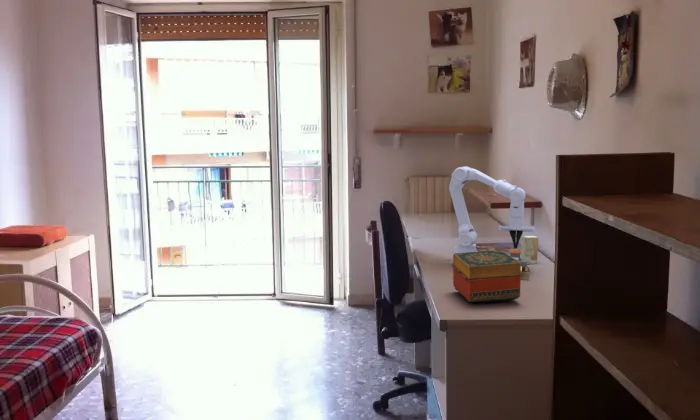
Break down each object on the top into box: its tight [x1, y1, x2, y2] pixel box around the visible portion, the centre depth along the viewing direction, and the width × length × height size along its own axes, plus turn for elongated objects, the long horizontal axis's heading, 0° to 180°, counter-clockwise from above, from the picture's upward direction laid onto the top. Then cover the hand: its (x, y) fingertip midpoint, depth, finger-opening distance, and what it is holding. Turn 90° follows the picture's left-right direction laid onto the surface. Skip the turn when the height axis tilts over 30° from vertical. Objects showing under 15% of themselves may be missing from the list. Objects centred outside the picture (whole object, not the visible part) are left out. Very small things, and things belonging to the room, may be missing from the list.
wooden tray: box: [520, 265, 530, 281], centre depth 253 cm, size 21×11×4 cm, turn 73°
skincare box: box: [520, 235, 539, 265], centre depth 275 cm, size 6×4×12 cm
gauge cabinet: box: [518, 257, 528, 267], centre depth 261 cm, size 10×8×5 cm
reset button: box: [508, 248, 522, 261], centre depth 260 cm, size 5×5×5 cm
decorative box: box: [452, 249, 522, 303], centre depth 219 cm, size 20×22×16 cm
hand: (515, 248), depth 260 cm, fingers closed
